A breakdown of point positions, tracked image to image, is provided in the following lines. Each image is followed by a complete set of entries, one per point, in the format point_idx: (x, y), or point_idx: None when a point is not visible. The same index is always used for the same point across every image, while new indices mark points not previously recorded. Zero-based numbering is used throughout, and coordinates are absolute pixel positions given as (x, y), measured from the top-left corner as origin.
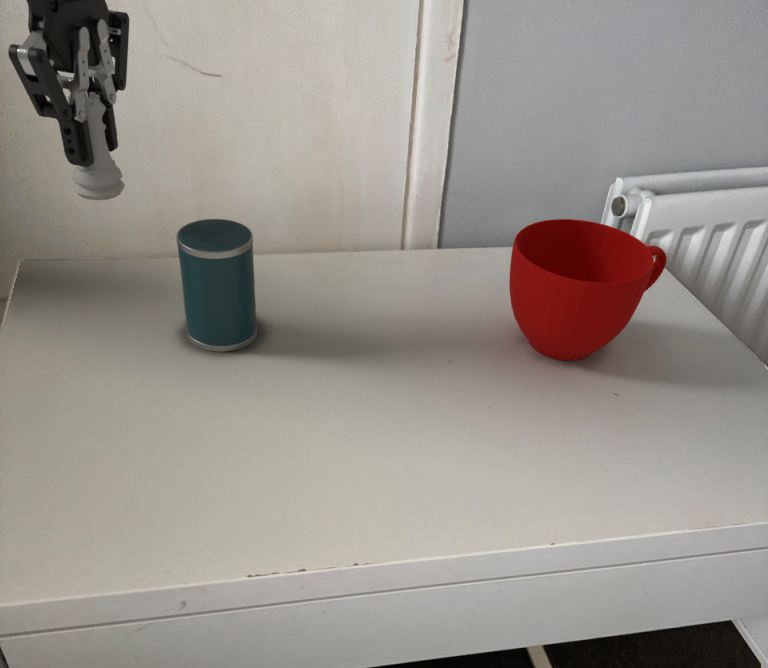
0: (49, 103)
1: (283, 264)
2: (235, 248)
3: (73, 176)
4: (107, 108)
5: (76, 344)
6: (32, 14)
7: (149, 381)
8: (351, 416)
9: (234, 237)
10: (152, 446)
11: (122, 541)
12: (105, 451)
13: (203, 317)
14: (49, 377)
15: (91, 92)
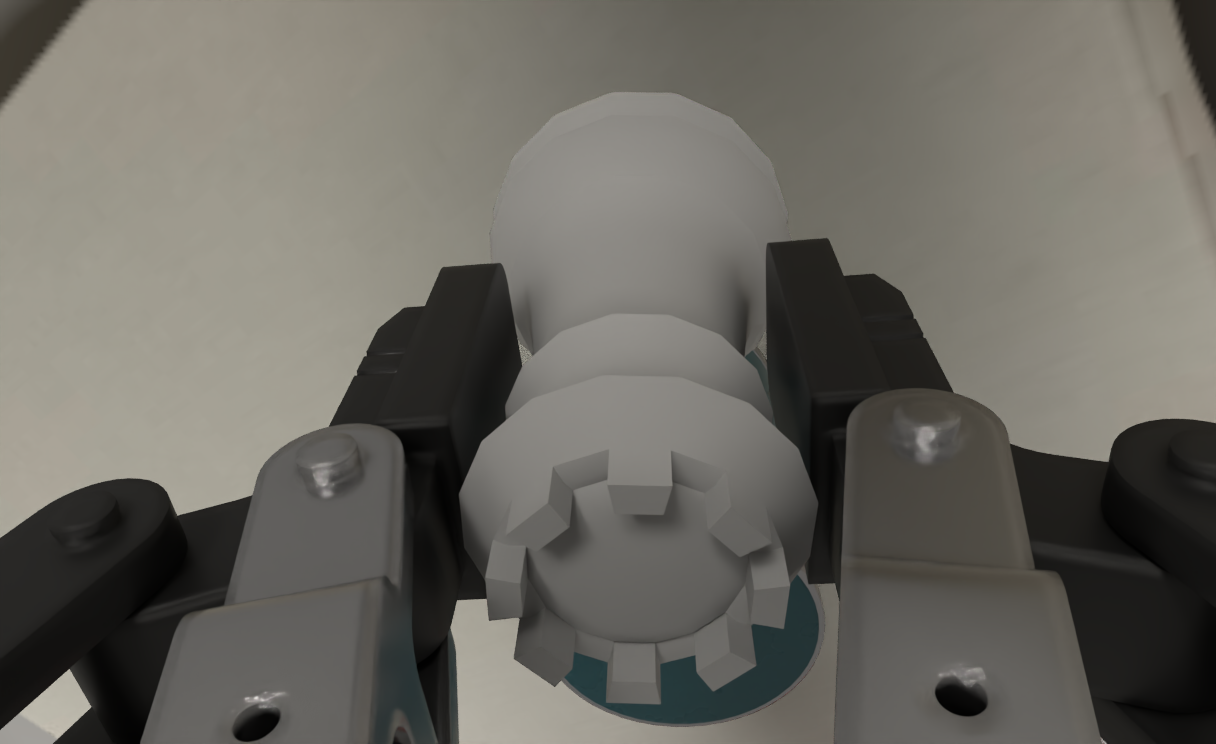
0: (83, 672)
1: (1164, 368)
2: (623, 714)
3: (509, 196)
4: (807, 579)
5: (377, 57)
6: None
7: (359, 354)
8: (509, 727)
9: (697, 685)
10: (170, 483)
11: None
12: (83, 413)
13: None
14: (190, 104)
15: (774, 599)
